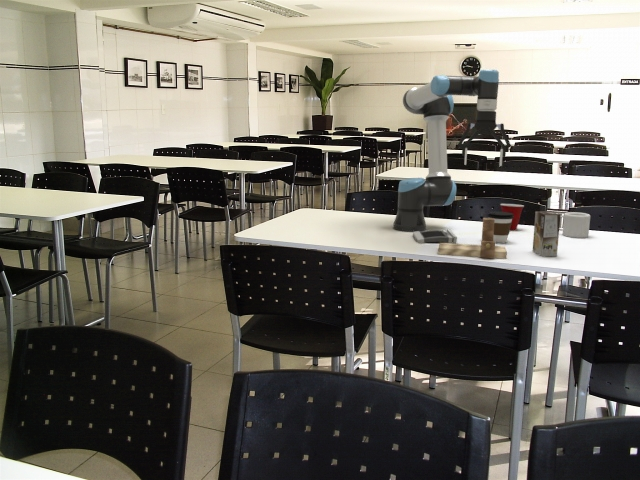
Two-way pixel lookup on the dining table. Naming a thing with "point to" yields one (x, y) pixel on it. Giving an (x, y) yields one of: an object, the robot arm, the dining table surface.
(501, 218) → the coffee cup
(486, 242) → the gauge
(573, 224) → the mug
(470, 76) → the robot arm
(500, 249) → the board
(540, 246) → the coffee box
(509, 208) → the plastic cup
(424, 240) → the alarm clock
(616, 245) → the dining table surface
